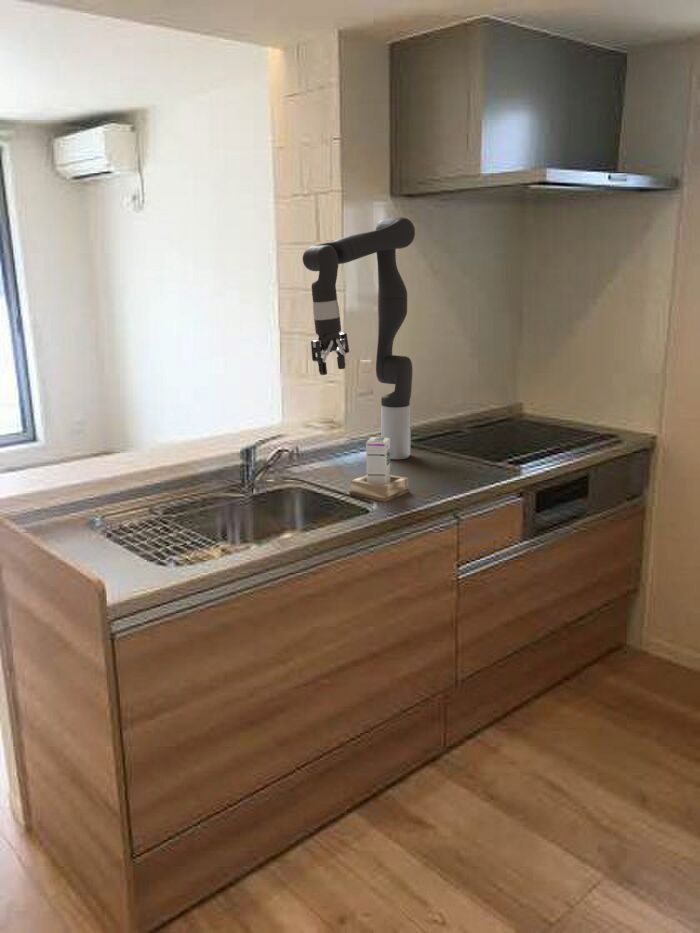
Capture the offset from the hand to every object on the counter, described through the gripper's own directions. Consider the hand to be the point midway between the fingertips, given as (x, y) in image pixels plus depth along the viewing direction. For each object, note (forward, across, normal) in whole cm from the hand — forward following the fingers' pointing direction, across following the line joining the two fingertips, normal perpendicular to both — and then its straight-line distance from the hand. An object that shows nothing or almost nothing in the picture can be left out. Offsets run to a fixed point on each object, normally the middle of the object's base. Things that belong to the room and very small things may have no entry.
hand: (332, 371), depth 233 cm
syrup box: (+30, -12, -22) cm, 39 cm away
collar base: (+31, -12, -22) cm, 40 cm away
